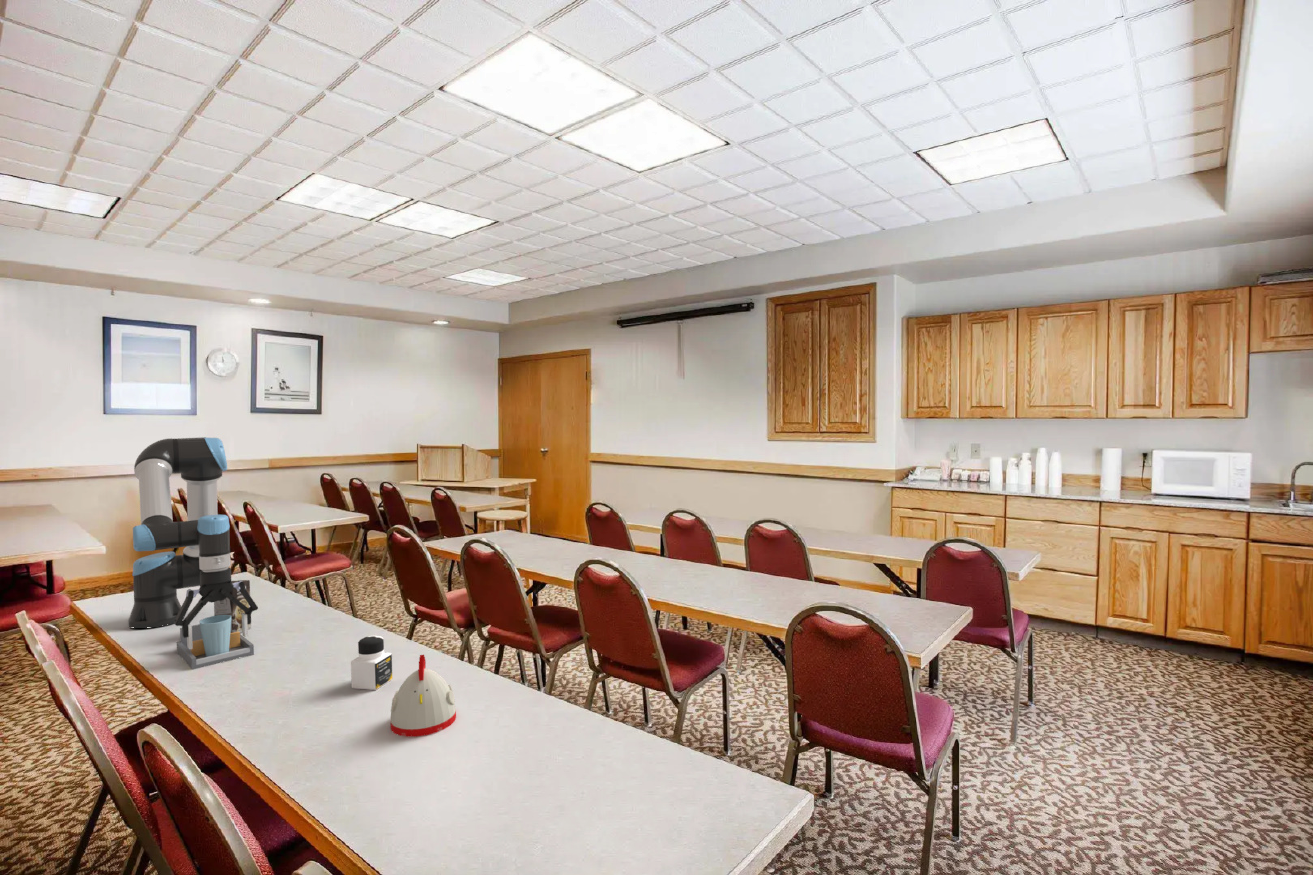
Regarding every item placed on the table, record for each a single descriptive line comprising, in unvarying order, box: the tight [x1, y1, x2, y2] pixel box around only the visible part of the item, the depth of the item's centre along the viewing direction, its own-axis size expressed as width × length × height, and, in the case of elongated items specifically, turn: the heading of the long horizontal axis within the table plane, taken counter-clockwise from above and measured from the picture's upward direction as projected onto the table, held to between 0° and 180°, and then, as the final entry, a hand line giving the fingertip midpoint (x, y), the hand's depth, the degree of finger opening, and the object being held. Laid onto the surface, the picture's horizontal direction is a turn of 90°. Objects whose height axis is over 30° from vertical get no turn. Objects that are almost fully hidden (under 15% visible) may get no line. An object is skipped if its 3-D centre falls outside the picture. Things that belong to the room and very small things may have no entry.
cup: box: [199, 615, 231, 657], centre depth 189 cm, size 8×8×10 cm
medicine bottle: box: [350, 635, 393, 691], centre depth 168 cm, size 7×7×12 cm
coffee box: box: [213, 579, 252, 634], centre depth 212 cm, size 9×6×16 cm
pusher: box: [191, 631, 241, 656], centre depth 194 cm, size 6×12×4 cm, turn 136°
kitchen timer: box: [390, 654, 457, 738], centre depth 147 cm, size 14×14×15 cm
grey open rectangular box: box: [176, 619, 255, 670], centre depth 193 cm, size 20×15×7 cm
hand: (218, 641), depth 190 cm, fingers open, 13 cm apart
